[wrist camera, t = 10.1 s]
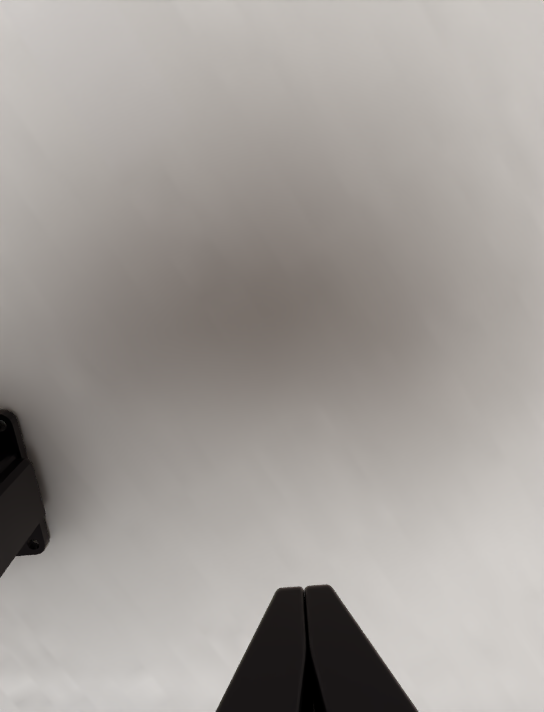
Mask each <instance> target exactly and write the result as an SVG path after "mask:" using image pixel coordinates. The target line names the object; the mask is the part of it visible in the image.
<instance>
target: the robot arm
mask: <svg viewBox="0 0 544 712" xmlns="http://www.w3.org/2000/svg"><path fill="white" fill-rule="evenodd" d="M0 420H2V421H4V422H5V424H6V427H3V426H1V425H0V577H1V576H2V574H3V573H4V572H5V570H6V569H7V567H8V566H9V565H10V563H11V562H12V560H13V559H14V558H15V556H24V555H36V554H40V553H42V552H43V551H44V550H45V548H46V547H47V545H48V543H49V535H48V531H47V528H46V524H45V520H44V516H45V510H44V506H43V502H42V499H41V495H40V491H39V487H38V484H37V480H36V476H35V472H34V469H33V465H32V463H31V462H30V460H29V459H28V457H27V454H26V450H25V446H24V442H23V439H22V435H21V431H20V428H19V424H18V420H17V418H16V416H15V415H14V414H13V413H12V412H10V411H8V410H0ZM32 539H33V540H36V541H38V542H39V543H35V542H33V540H32ZM304 595H305V596H304ZM216 712H418V710H417V709H416V707H415V706H414V704H413V703H412V702H411V700H410V699H409V697H408V696H407V694H406V693H405V692H404V690H403V689H402V687H401V686H400V684H399V683H398V681H397V680H396V679H395V677H394V676H393V674H392V673H391V671H390V670H389V669H388V667H387V666H386V664H385V663H384V661H383V660H382V658H381V657H380V656H379V654H378V653H377V651H376V650H375V648H374V647H373V645H372V644H371V643H370V641H369V640H368V638H367V637H366V635H365V634H364V633H363V631H362V630H361V628H360V627H359V625H358V624H357V622H356V621H355V620H354V618H353V617H352V615H351V614H350V612H349V611H348V610H347V608H346V607H345V605H344V604H343V602H342V601H341V599H340V598H339V597H338V595H337V594H336V592H335V591H334V589H333V588H332V587H331V586H330V585H312V586H307V587H306V588H305V590H303V588H302V587H285V588H279V589H278V590H277V591H276V592H275V594H274V596H273V598H272V600H271V602H270V604H269V606H268V608H267V610H266V612H265V614H264V616H263V618H262V620H261V622H260V624H259V626H258V628H257V630H256V632H255V634H254V636H253V638H252V640H251V642H250V644H249V646H248V648H247V650H246V652H245V654H244V656H243V658H242V660H241V662H240V664H239V666H238V668H237V670H236V672H235V674H234V676H233V678H232V680H231V682H230V684H229V686H228V688H227V690H226V692H225V694H224V696H223V698H222V700H221V702H220V704H219V706H218V708H217V710H216Z"/></svg>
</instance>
